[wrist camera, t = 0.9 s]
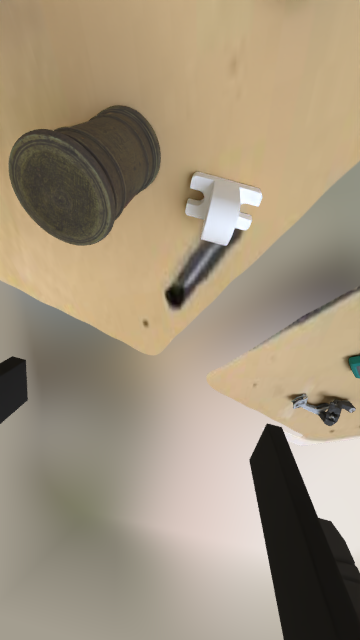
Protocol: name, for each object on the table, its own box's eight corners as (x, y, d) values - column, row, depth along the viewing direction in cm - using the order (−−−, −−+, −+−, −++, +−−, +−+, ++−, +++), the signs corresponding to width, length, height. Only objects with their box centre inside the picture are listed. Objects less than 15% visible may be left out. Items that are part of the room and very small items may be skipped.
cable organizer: (194, 170, 30) (184, 195, 23) (262, 189, 30) (271, 219, 24) (186, 209, 34) (175, 240, 27) (246, 225, 34) (250, 260, 28)
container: (88, 102, 26) (-28, 120, 14) (160, 108, 26) (100, 131, 14) (104, 185, 33) (34, 244, 21) (162, 191, 32) (122, 255, 21)
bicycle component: (288, 403, 73) (318, 415, 77) (299, 422, 66) (331, 434, 71) (314, 379, 68) (344, 393, 72) (329, 398, 62) (361, 412, 66)
